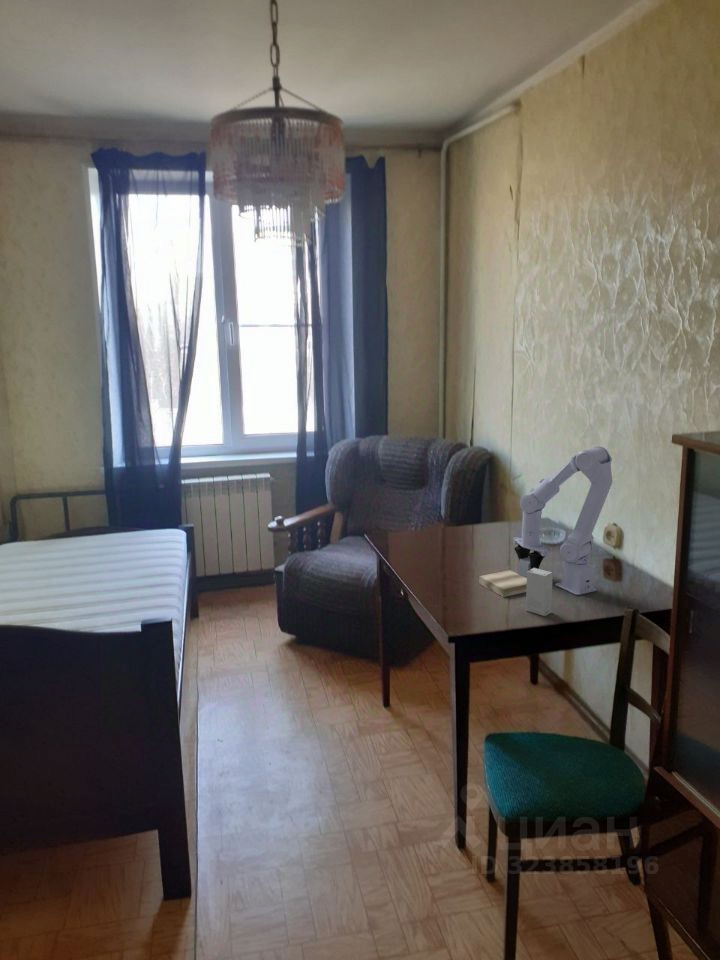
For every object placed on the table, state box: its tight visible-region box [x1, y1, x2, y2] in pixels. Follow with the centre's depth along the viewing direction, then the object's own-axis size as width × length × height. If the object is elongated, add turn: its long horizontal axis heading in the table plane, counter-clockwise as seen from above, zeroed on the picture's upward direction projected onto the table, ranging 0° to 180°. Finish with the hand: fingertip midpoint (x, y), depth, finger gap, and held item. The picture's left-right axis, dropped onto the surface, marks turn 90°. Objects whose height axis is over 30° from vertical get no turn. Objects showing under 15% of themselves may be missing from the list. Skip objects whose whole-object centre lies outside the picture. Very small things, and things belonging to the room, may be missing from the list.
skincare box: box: [525, 568, 554, 617], centre depth 195 cm, size 6×4×12 cm
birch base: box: [478, 569, 527, 598], centre depth 215 cm, size 12×12×2 cm
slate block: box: [518, 557, 531, 578], centre depth 224 cm, size 4×4×5 cm
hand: (528, 570), depth 225 cm, fingers closed on slate block, 4 cm apart
